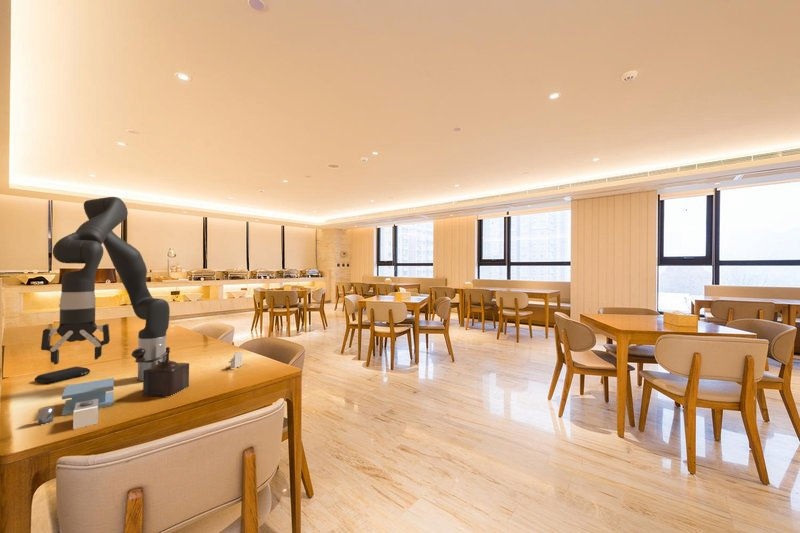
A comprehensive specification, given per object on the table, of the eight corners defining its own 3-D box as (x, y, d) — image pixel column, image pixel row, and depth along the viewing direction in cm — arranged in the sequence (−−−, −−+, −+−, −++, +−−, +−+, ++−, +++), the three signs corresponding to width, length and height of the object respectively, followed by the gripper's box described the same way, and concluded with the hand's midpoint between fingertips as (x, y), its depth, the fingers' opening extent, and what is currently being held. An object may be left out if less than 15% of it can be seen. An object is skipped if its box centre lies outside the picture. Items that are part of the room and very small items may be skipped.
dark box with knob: (162, 385, 126) (163, 339, 126) (189, 386, 126) (190, 340, 126) (127, 402, 111) (128, 349, 111) (158, 403, 110) (159, 350, 110)
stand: (113, 394, 117) (113, 377, 117) (113, 405, 108) (113, 387, 108) (66, 403, 109) (66, 385, 109) (61, 415, 100) (61, 396, 100)
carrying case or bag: (48, 386, 125) (94, 374, 139) (48, 378, 125) (94, 367, 139) (31, 383, 128) (78, 372, 142) (31, 375, 128) (78, 365, 142)
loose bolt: (53, 418, 98) (54, 405, 98) (52, 422, 96) (52, 409, 96) (39, 422, 96) (39, 408, 96) (37, 425, 94) (37, 412, 94)
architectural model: (227, 370, 147) (227, 353, 148) (236, 365, 154) (237, 350, 154) (234, 370, 147) (234, 354, 147) (243, 365, 154) (243, 350, 154)
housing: (75, 419, 98) (76, 400, 98) (98, 414, 101) (98, 396, 101) (73, 429, 92) (73, 409, 92) (97, 424, 95) (97, 405, 95)
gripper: (111, 304, 103) (110, 355, 103) (46, 307, 95) (45, 362, 94) (108, 306, 97) (107, 360, 97) (39, 309, 89) (37, 368, 89)
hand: (76, 361), depth 96 cm, fingers open, 8 cm apart
